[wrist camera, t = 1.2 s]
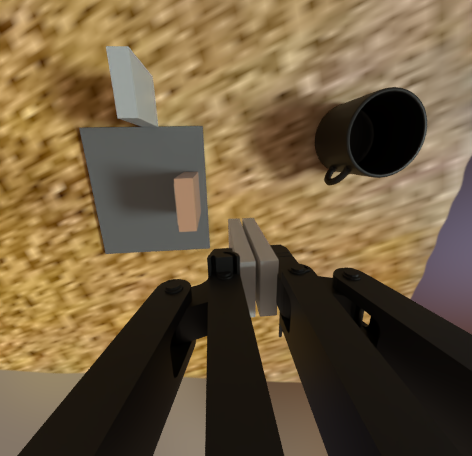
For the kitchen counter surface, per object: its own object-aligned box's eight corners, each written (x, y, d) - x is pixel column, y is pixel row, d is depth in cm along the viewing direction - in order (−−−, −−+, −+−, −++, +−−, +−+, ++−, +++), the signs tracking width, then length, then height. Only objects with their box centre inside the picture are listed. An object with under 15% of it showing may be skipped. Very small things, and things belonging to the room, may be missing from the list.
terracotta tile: (182, 172, 33) (171, 178, 25) (198, 171, 34) (192, 178, 25) (186, 212, 35) (177, 232, 27) (200, 212, 35) (196, 231, 27)
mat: (81, 128, 31) (79, 127, 31) (202, 126, 32) (202, 126, 32) (107, 252, 37) (105, 253, 36) (209, 246, 38) (209, 248, 37)
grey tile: (135, 76, 30) (103, 46, 21) (152, 76, 30) (128, 46, 22) (141, 127, 32) (115, 118, 23) (158, 127, 32) (138, 118, 23)
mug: (290, 162, 35) (314, 166, 26) (342, 88, 33) (389, 66, 24) (335, 197, 37) (371, 210, 29) (387, 130, 35) (444, 123, 26)
